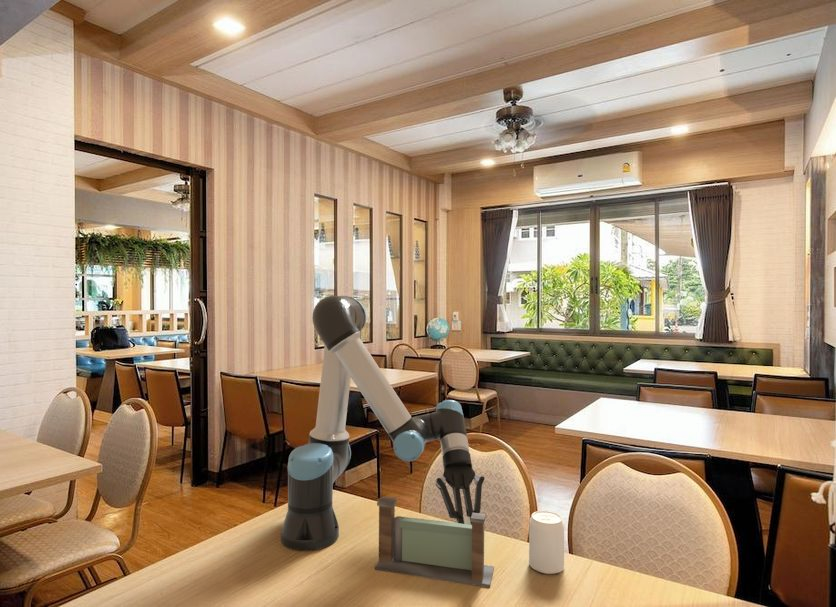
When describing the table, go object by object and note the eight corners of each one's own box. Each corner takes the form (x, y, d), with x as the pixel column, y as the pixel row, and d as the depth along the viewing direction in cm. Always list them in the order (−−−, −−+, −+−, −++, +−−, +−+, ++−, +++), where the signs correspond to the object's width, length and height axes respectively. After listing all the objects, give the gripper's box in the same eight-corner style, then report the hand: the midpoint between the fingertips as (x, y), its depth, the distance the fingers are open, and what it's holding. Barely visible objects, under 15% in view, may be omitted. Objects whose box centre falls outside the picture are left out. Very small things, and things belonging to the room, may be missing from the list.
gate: (395, 555, 122) (396, 515, 122) (483, 567, 117) (484, 525, 117) (392, 560, 120) (393, 519, 120) (482, 572, 115) (483, 530, 115)
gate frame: (383, 552, 126) (384, 494, 126) (493, 568, 119) (494, 506, 119) (372, 569, 118) (373, 506, 118) (490, 587, 111) (490, 520, 111)
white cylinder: (565, 578, 115) (565, 526, 115) (529, 574, 117) (529, 522, 116) (562, 560, 123) (563, 511, 123) (528, 556, 125) (529, 508, 124)
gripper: (476, 460, 139) (493, 550, 123) (430, 461, 137) (440, 553, 121) (482, 446, 133) (499, 539, 117) (433, 448, 132) (445, 542, 115)
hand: (469, 546), depth 119 cm, fingers closed
